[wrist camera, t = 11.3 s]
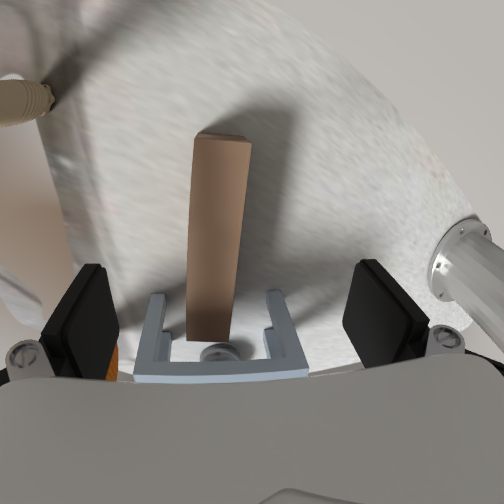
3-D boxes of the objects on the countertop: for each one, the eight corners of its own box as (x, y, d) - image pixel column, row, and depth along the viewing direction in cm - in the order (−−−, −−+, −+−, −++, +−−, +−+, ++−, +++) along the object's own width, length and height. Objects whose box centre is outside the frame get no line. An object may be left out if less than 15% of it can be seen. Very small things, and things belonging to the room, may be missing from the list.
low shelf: (280, 290, 33) (309, 368, 23) (275, 338, 36) (296, 414, 26) (151, 293, 31) (132, 374, 21) (159, 341, 34) (149, 420, 24)
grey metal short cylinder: (240, 343, 36) (242, 357, 34) (238, 370, 38) (239, 383, 36) (199, 343, 35) (199, 357, 33) (200, 370, 38) (200, 383, 35)
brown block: (243, 136, 26) (252, 143, 20) (225, 305, 33) (228, 342, 28) (198, 132, 25) (194, 138, 20) (188, 303, 33) (186, 340, 27)
